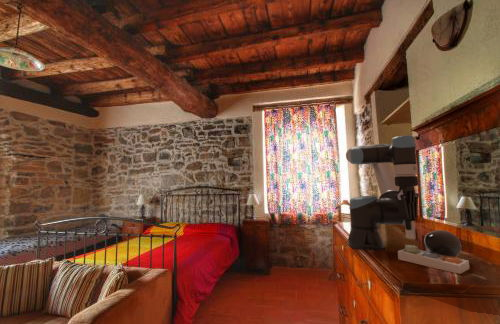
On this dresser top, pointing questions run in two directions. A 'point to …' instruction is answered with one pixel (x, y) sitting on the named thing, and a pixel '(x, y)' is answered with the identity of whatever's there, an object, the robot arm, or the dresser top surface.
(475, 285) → the dresser top surface
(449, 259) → the orange button
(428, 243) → the dark glossy ovoid
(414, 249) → the green button
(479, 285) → the dresser top surface
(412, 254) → the button panel
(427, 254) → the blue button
